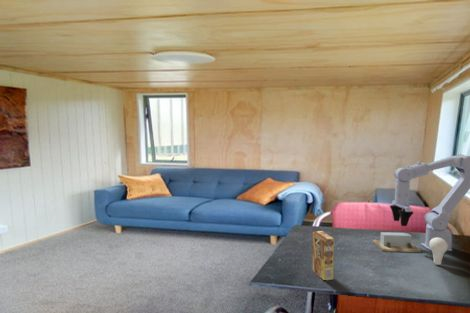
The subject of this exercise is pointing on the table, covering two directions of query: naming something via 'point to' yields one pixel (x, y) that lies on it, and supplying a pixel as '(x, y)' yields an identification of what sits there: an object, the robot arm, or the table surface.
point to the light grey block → (395, 239)
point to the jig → (397, 247)
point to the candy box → (323, 255)
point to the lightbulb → (438, 249)
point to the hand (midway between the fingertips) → (400, 223)
